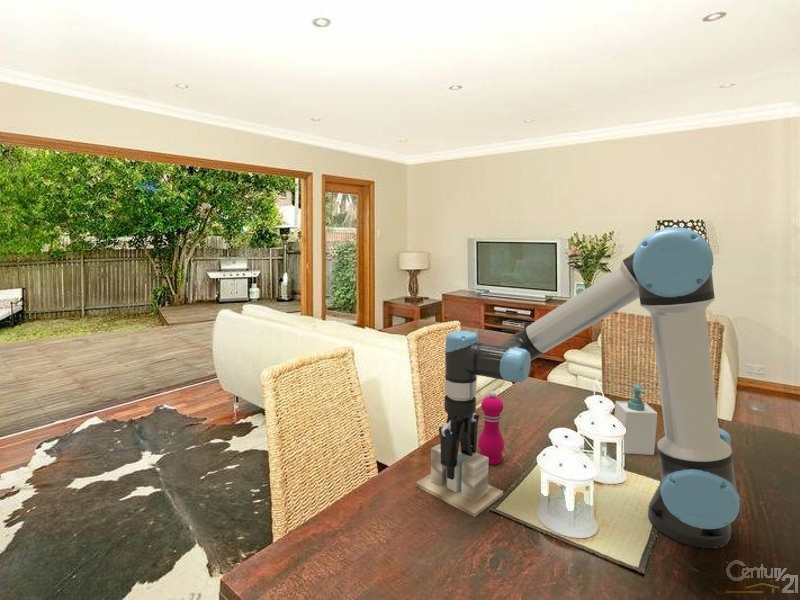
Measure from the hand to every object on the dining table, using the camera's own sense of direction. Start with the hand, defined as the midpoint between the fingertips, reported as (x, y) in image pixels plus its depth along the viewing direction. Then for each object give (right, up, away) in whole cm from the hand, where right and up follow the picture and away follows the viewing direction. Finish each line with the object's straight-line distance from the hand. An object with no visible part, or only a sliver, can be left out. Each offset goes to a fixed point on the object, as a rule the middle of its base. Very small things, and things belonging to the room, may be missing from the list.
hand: (458, 485), depth 111 cm
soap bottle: (+55, +2, +22) cm, 59 cm away
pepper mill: (+11, +1, +16) cm, 19 cm away
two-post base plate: (0, -1, 0) cm, 1 cm away
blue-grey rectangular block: (0, 0, 0) cm, 0 cm away
